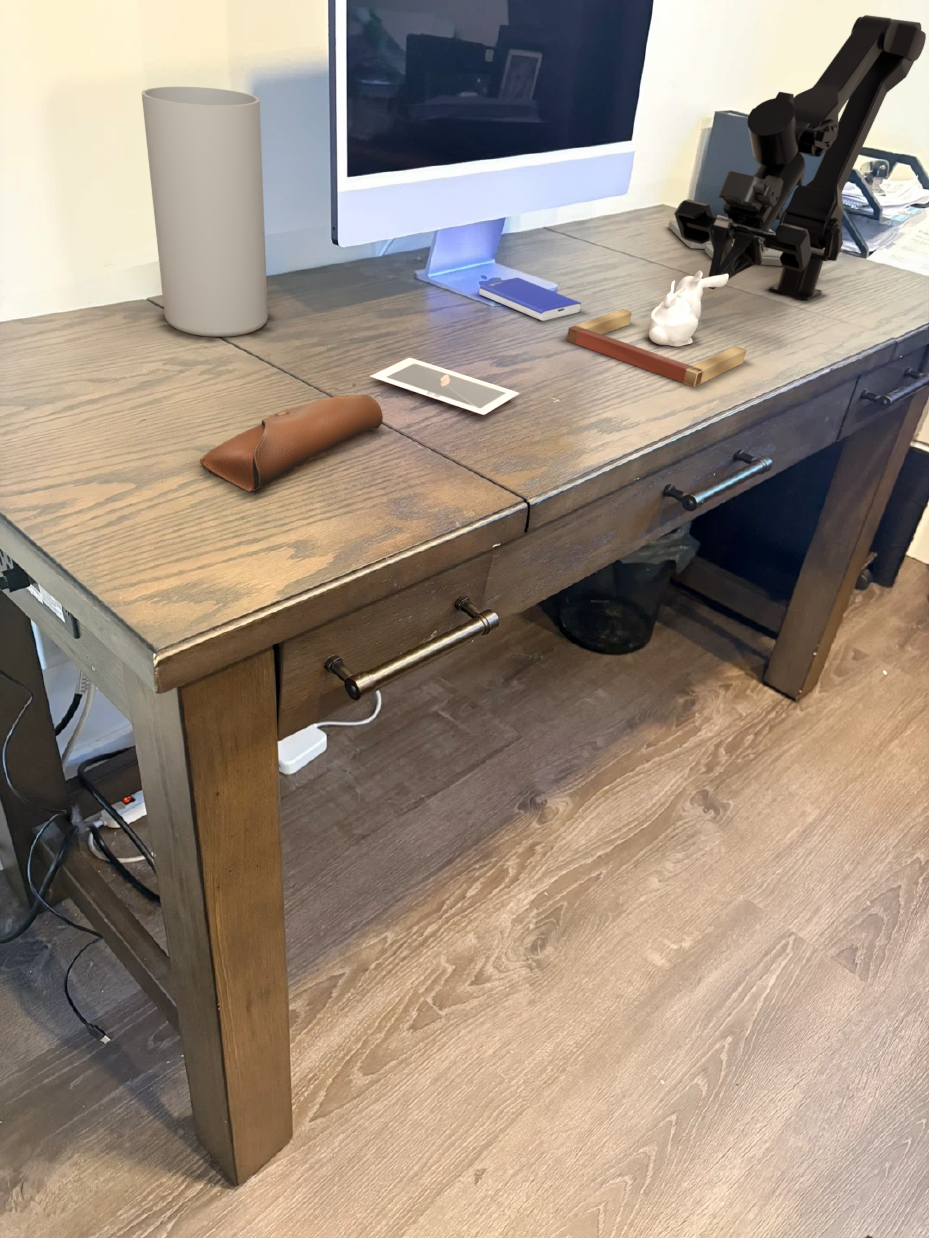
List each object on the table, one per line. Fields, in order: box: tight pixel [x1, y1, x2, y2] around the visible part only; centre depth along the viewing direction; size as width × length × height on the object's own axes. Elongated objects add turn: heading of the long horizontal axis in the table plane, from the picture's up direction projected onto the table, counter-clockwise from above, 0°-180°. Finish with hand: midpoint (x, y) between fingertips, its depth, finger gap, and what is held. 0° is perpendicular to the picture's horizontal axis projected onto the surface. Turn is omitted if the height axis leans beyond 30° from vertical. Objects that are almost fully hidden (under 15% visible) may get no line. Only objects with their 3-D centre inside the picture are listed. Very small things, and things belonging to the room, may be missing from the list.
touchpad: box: [369, 357, 520, 416], centre depth 104 cm, size 8×15×2 cm, turn 58°
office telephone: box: [668, 219, 783, 267], centre depth 170 cm, size 23×3×20 cm
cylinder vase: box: [141, 86, 269, 338], centre depth 110 cm, size 12×12×25 cm
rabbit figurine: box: [648, 270, 729, 347], centre depth 123 cm, size 12×8×10 cm, turn 139°
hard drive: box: [478, 277, 582, 322], centre depth 133 cm, size 2×8×12 cm
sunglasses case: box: [199, 394, 384, 493], centre depth 89 cm, size 18×7×7 cm, turn 147°
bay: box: [566, 308, 747, 388], centre depth 121 cm, size 13×19×2 cm
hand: (709, 287), depth 126 cm, fingers closed
